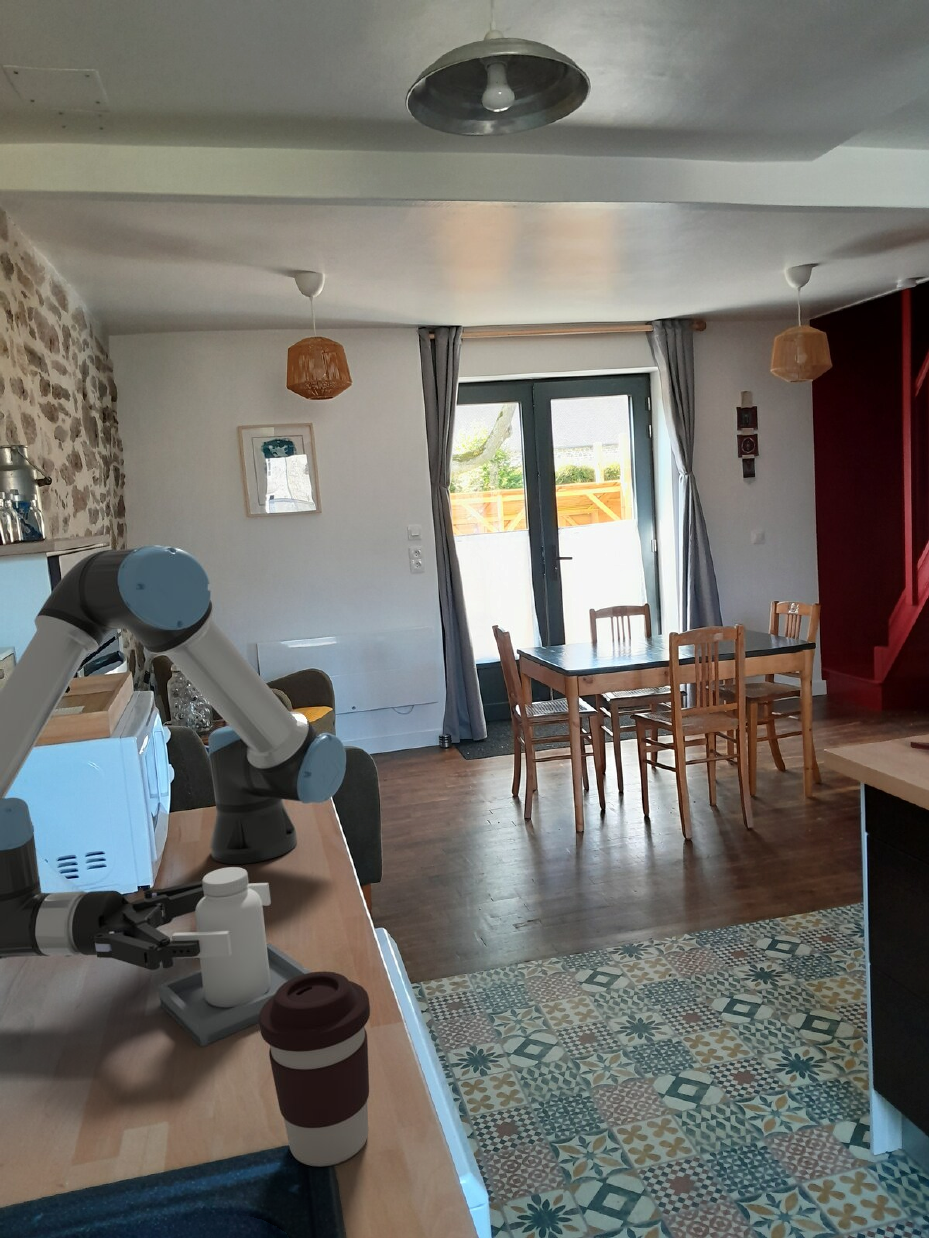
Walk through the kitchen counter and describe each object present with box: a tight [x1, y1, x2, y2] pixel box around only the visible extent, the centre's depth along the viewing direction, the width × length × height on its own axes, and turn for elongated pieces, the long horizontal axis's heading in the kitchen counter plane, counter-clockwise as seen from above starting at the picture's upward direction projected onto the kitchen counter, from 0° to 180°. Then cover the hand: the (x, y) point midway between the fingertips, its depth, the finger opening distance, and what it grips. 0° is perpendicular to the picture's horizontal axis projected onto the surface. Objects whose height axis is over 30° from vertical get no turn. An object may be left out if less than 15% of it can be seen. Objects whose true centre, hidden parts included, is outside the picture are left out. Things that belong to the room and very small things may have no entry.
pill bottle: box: [194, 866, 270, 1007], centre depth 112 cm, size 8×8×15 cm
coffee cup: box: [258, 970, 371, 1167], centre depth 85 cm, size 10×10×15 cm
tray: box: [157, 942, 312, 1048], centre depth 113 cm, size 15×13×2 cm
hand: (250, 917), depth 112 cm, fingers open, 13 cm apart
